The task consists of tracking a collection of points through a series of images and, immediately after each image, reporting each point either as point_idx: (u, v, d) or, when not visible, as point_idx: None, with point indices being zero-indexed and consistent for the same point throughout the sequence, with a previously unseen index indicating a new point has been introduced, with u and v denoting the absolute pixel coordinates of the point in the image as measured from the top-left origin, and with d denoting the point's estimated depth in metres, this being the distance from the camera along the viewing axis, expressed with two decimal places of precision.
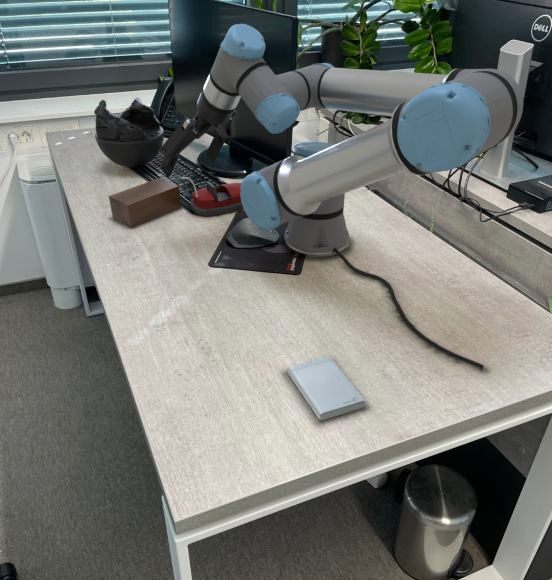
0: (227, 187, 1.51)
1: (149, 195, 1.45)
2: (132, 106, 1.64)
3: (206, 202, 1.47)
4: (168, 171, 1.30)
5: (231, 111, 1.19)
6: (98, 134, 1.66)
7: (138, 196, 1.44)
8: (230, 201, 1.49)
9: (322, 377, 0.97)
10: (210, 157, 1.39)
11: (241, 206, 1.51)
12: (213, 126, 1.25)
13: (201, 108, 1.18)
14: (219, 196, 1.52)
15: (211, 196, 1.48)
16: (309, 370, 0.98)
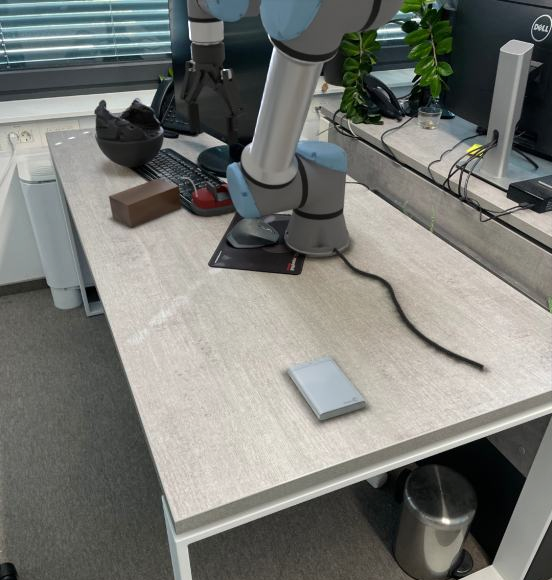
0: (227, 187, 1.51)
1: (149, 195, 1.45)
2: (132, 106, 1.64)
3: (206, 202, 1.47)
4: None
5: (198, 46, 1.27)
6: (98, 134, 1.66)
7: (138, 196, 1.44)
8: (230, 201, 1.49)
9: (322, 377, 0.97)
10: None
11: None
12: None
13: None
14: (219, 196, 1.52)
15: (211, 196, 1.48)
16: (309, 370, 0.98)
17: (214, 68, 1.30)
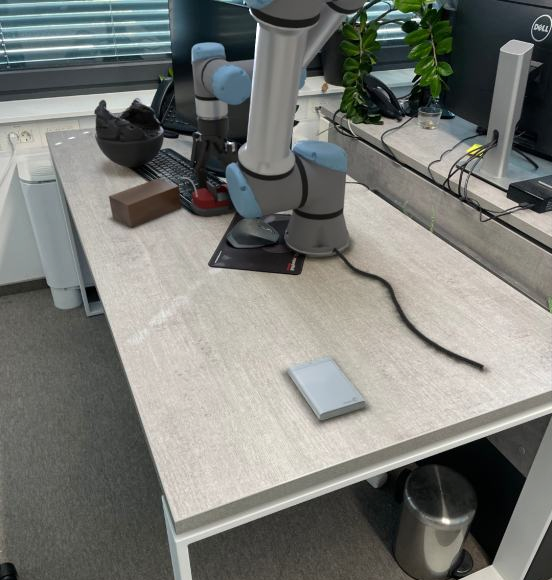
0: (227, 187, 1.51)
1: (149, 195, 1.45)
2: (132, 106, 1.64)
3: (206, 202, 1.47)
4: None
5: (204, 121, 1.37)
6: (98, 134, 1.66)
7: (138, 196, 1.44)
8: None
9: (322, 377, 0.97)
10: None
11: None
12: None
13: None
14: (219, 196, 1.52)
15: (211, 196, 1.48)
16: (309, 370, 0.98)
17: (219, 140, 1.40)
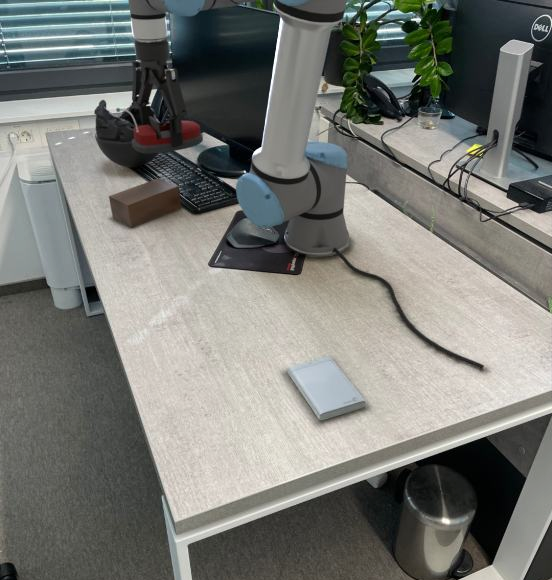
0: None
1: (149, 195, 1.45)
2: (132, 106, 1.64)
3: (147, 138, 1.35)
4: None
5: (140, 44, 1.25)
6: (98, 134, 1.66)
7: (138, 196, 1.44)
8: None
9: (322, 377, 0.97)
10: None
11: (187, 144, 1.39)
12: None
13: None
14: (163, 133, 1.40)
15: (153, 132, 1.36)
16: (309, 370, 0.98)
17: (158, 66, 1.27)
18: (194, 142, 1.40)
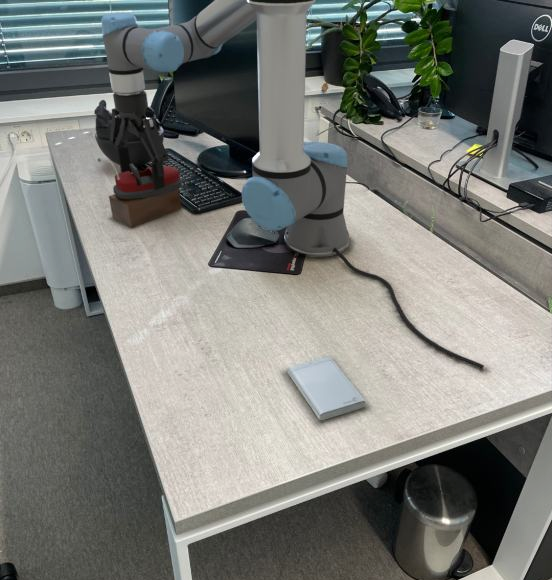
0: None
1: None
2: None
3: (127, 185, 1.40)
4: None
5: (119, 97, 1.30)
6: (98, 134, 1.66)
7: None
8: None
9: (322, 377, 0.97)
10: None
11: (166, 190, 1.45)
12: None
13: None
14: (144, 179, 1.46)
15: (133, 179, 1.42)
16: (309, 370, 0.98)
17: (136, 117, 1.33)
18: (174, 187, 1.46)
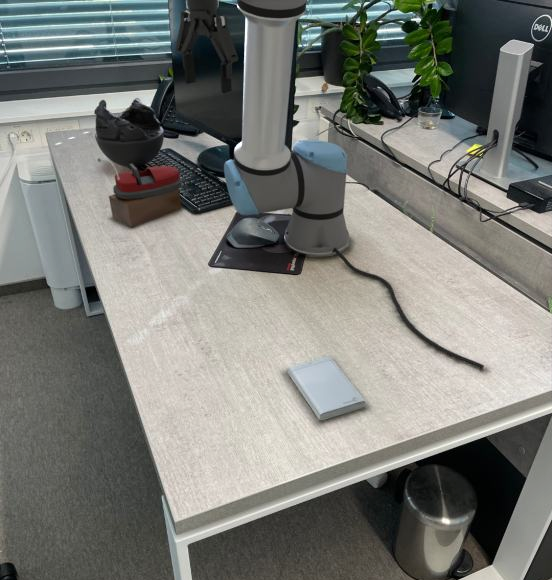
0: (152, 170, 1.44)
1: None
2: (132, 106, 1.64)
3: (127, 185, 1.40)
4: None
5: None
6: (98, 134, 1.66)
7: None
8: (154, 185, 1.43)
9: (322, 377, 0.97)
10: None
11: (166, 190, 1.45)
12: None
13: None
14: (144, 179, 1.46)
15: (133, 179, 1.42)
16: (309, 370, 0.98)
17: (208, 16, 1.34)
18: (174, 187, 1.46)
